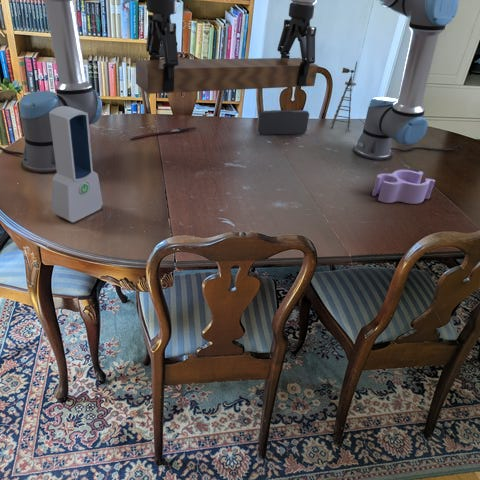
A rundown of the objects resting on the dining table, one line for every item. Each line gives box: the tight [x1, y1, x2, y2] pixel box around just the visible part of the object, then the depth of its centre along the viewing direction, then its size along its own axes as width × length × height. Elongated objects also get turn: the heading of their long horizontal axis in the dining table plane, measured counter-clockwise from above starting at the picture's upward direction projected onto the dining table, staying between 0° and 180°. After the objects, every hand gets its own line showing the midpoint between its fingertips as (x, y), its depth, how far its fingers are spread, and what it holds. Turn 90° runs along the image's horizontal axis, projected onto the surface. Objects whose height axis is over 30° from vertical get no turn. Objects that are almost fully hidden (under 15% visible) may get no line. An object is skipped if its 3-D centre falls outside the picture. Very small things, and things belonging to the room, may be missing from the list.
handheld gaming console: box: [257, 109, 310, 136], centre depth 204 cm, size 23×3×10 cm, turn 108°
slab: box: [135, 57, 319, 95], centre depth 137 cm, size 55×10×6 cm, turn 119°
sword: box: [130, 126, 197, 141], centre depth 193 cm, size 31×3×1 cm, turn 126°
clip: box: [371, 169, 436, 205], centre depth 162 cm, size 20×12×7 cm, turn 109°
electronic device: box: [49, 106, 104, 224], centre depth 127 cm, size 12×8×30 cm, turn 148°
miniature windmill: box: [331, 61, 358, 131], centre depth 214 cm, size 9×8×30 cm
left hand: (161, 85), depth 129 cm, fingers closed on slab, 10 cm apart
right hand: (291, 80), depth 149 cm, fingers closed on slab, 10 cm apart
